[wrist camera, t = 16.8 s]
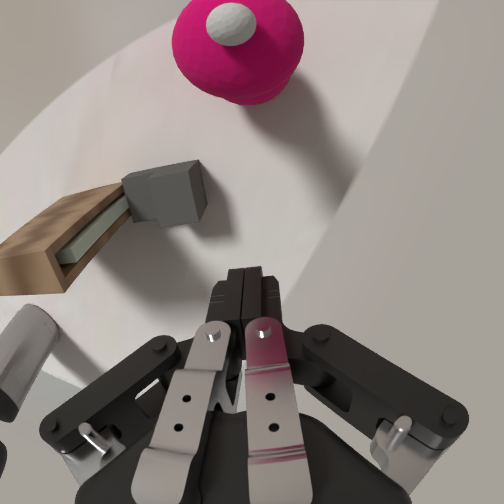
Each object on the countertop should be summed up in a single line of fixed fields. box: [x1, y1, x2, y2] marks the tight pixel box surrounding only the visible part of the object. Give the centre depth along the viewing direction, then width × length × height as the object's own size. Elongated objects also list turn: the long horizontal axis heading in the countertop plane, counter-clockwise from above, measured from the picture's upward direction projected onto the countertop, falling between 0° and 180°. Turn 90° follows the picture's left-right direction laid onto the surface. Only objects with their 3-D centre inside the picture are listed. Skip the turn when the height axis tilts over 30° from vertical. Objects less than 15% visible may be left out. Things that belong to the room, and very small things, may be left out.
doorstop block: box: [121, 160, 207, 228], centre depth 29 cm, size 8×5×5 cm, turn 98°
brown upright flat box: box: [0, 182, 131, 296], centre depth 25 cm, size 10×4×16 cm, turn 98°
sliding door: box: [55, 194, 129, 265], centre depth 26 cm, size 12×1×12 cm, turn 98°
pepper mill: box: [172, 0, 304, 105], centre depth 16 cm, size 7×7×20 cm
